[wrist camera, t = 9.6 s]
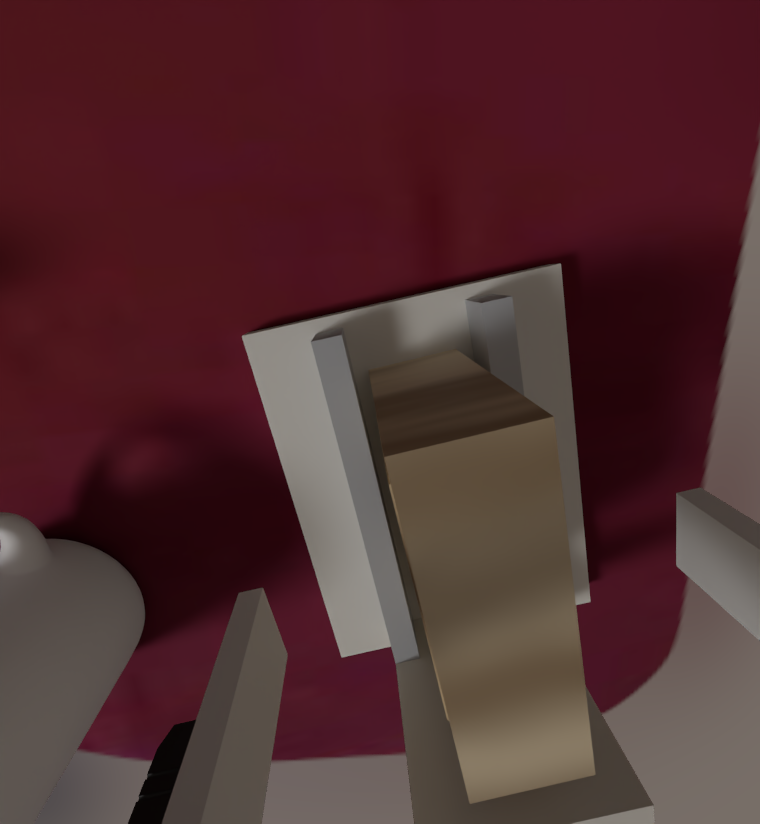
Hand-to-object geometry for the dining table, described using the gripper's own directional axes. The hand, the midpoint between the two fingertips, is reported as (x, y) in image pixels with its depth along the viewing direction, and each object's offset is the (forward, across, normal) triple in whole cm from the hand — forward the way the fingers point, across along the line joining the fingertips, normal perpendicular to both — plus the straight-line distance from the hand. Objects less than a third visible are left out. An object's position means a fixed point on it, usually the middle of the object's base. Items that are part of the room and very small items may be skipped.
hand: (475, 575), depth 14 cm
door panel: (+8, 0, -1) cm, 8 cm away
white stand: (+9, 0, -1) cm, 9 cm away
